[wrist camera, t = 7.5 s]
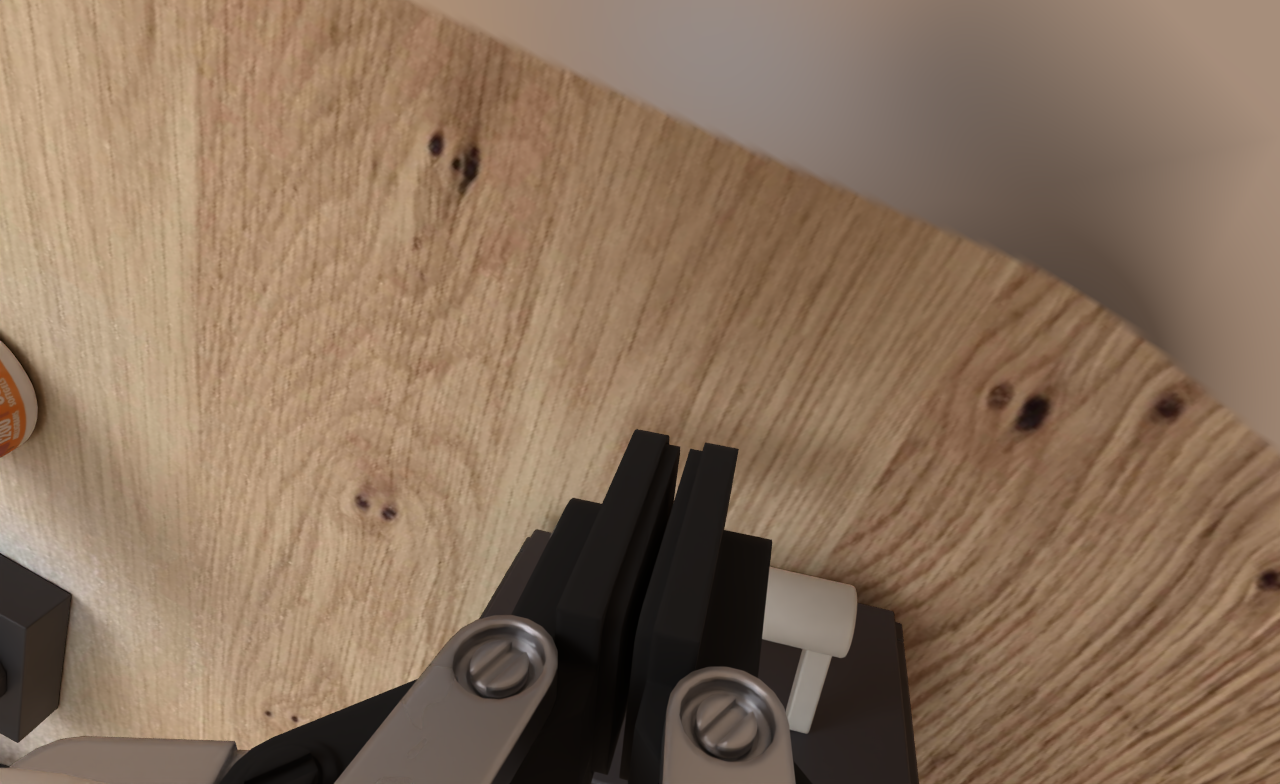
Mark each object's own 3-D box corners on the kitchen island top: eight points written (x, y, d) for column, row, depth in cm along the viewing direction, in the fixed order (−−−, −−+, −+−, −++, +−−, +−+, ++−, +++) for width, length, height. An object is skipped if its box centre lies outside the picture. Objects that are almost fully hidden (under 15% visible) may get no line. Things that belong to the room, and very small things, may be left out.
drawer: (538, 410, 22) (404, 589, 15) (935, 491, 20) (987, 736, 13) (528, 785, 30) (440, 1006, 23) (806, 865, 28) (797, 1131, 22)
